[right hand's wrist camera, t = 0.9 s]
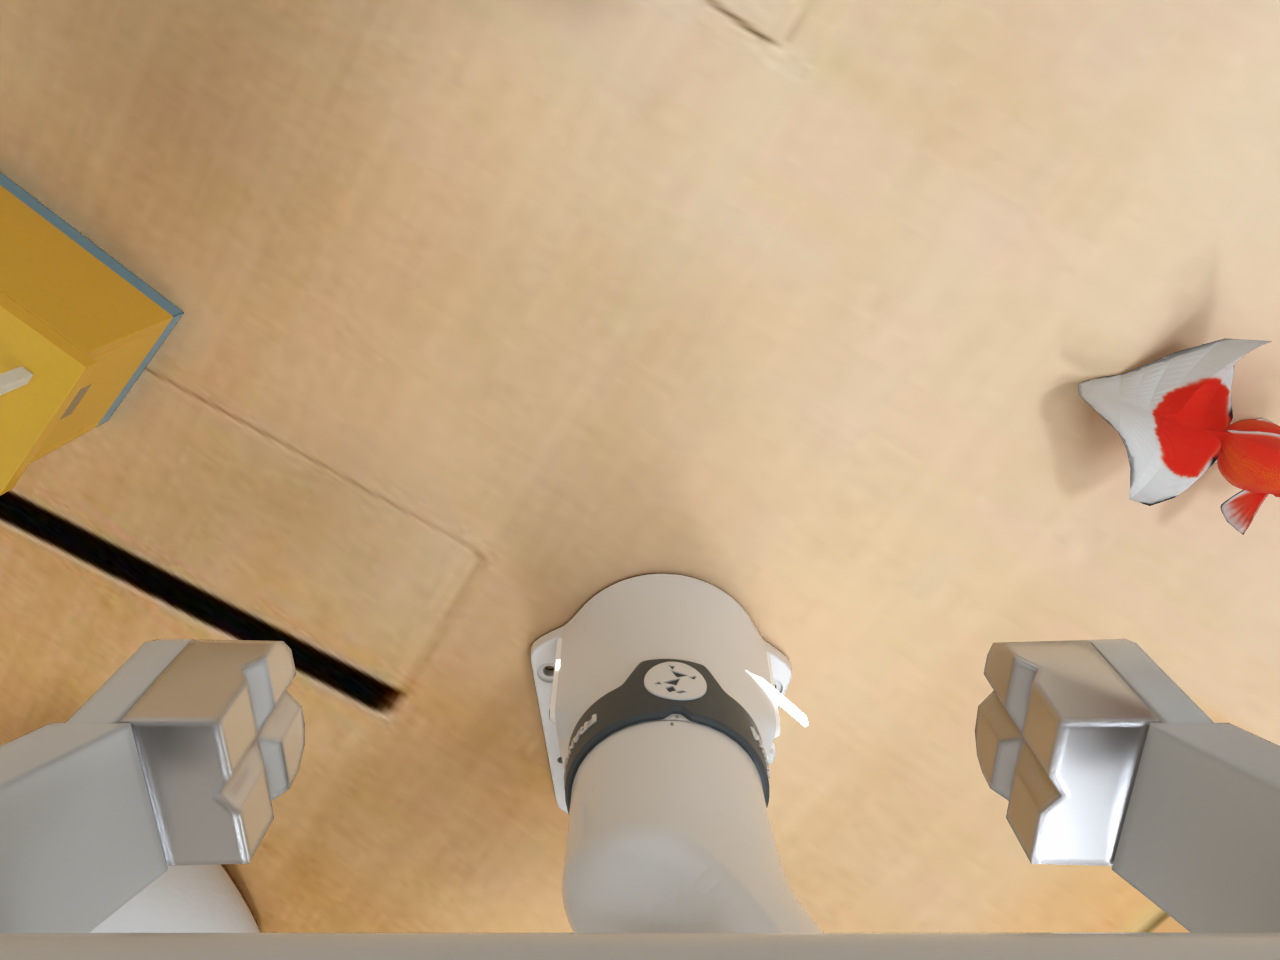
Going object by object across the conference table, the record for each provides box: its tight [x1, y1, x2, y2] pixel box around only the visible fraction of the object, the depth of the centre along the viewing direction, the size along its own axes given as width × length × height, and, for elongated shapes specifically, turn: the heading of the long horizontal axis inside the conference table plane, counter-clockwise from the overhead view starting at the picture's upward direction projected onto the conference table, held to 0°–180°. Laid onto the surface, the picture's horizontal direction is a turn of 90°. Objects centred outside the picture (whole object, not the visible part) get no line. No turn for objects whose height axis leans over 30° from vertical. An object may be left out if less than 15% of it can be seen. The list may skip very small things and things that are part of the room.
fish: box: [1078, 339, 1280, 535], centre depth 53 cm, size 11×16×10 cm
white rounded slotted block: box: [89, 864, 260, 933], centre depth 63 cm, size 22×23×15 cm
